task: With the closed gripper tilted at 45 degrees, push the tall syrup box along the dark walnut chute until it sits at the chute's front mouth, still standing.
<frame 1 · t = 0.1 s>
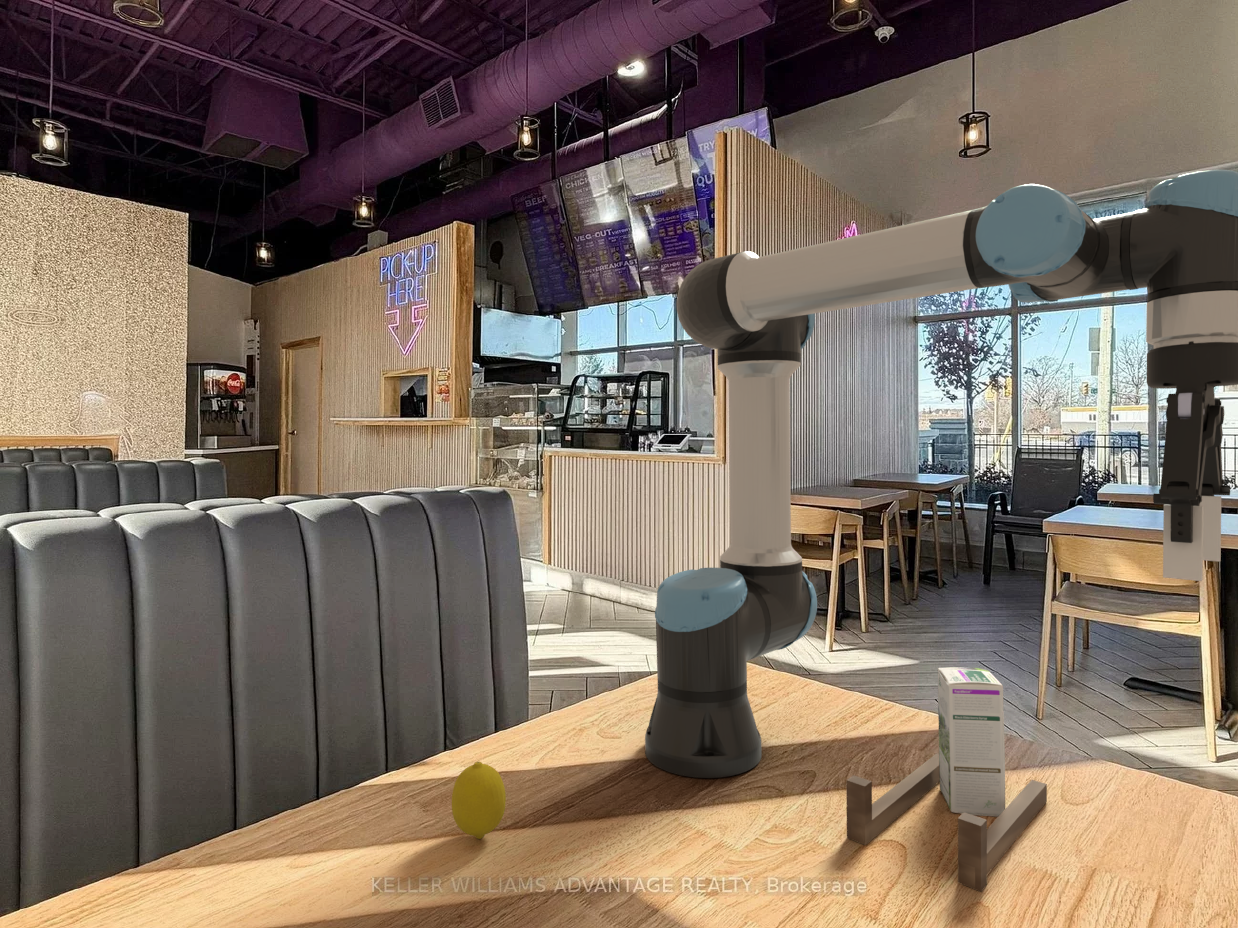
hand: (1193, 569, 69), 28 cm above the table, tool pointing down, fingers open, 13 cm apart
lemon: (479, 839, 76), on the table
walnut chute: (953, 819, 78), on the table
syrup box: (970, 804, 81), on the table
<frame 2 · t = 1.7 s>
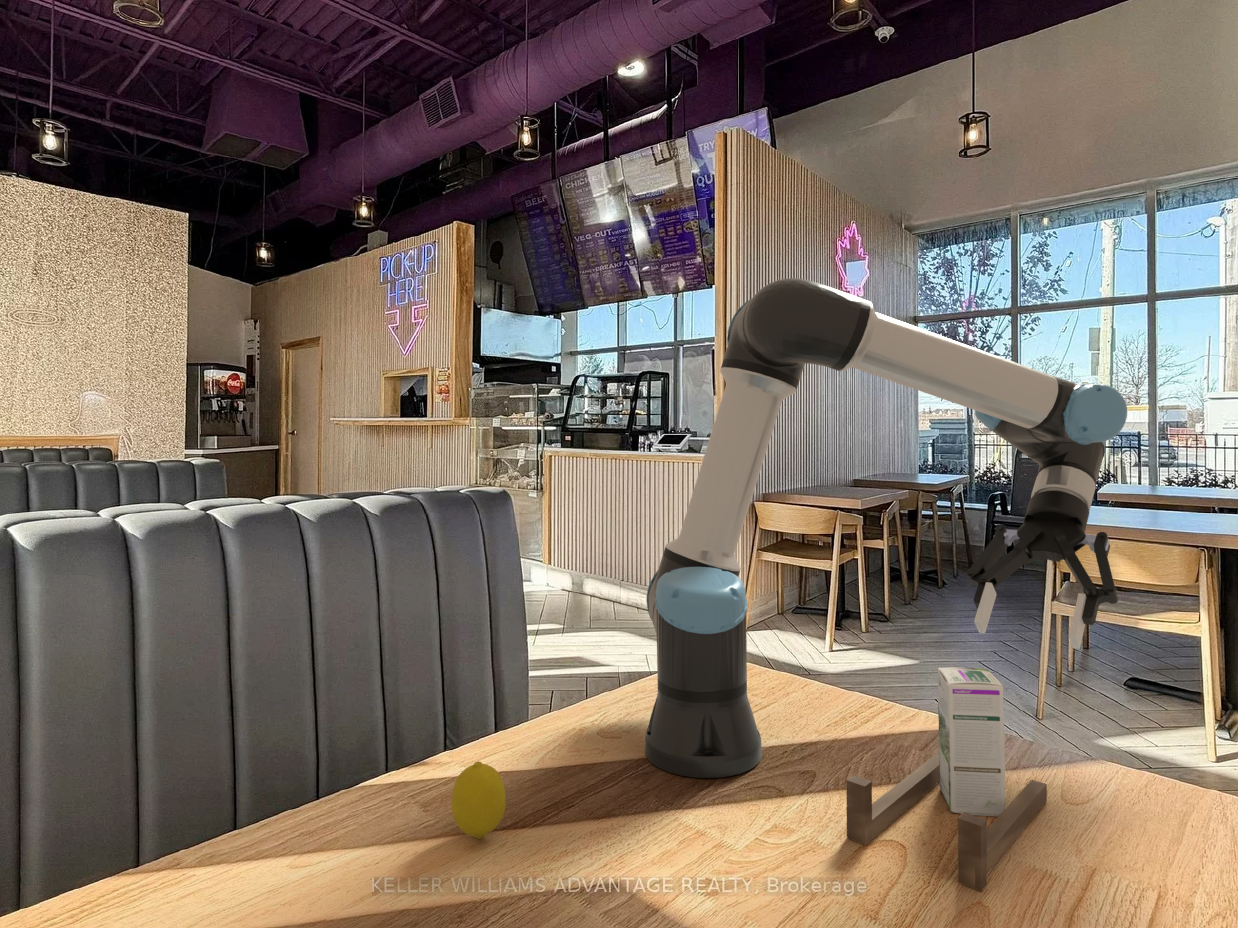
hand: (1024, 634, 94), 15 cm above the table, tool tilted 45°, fingers open, 10 cm apart
nothing on the table moved.
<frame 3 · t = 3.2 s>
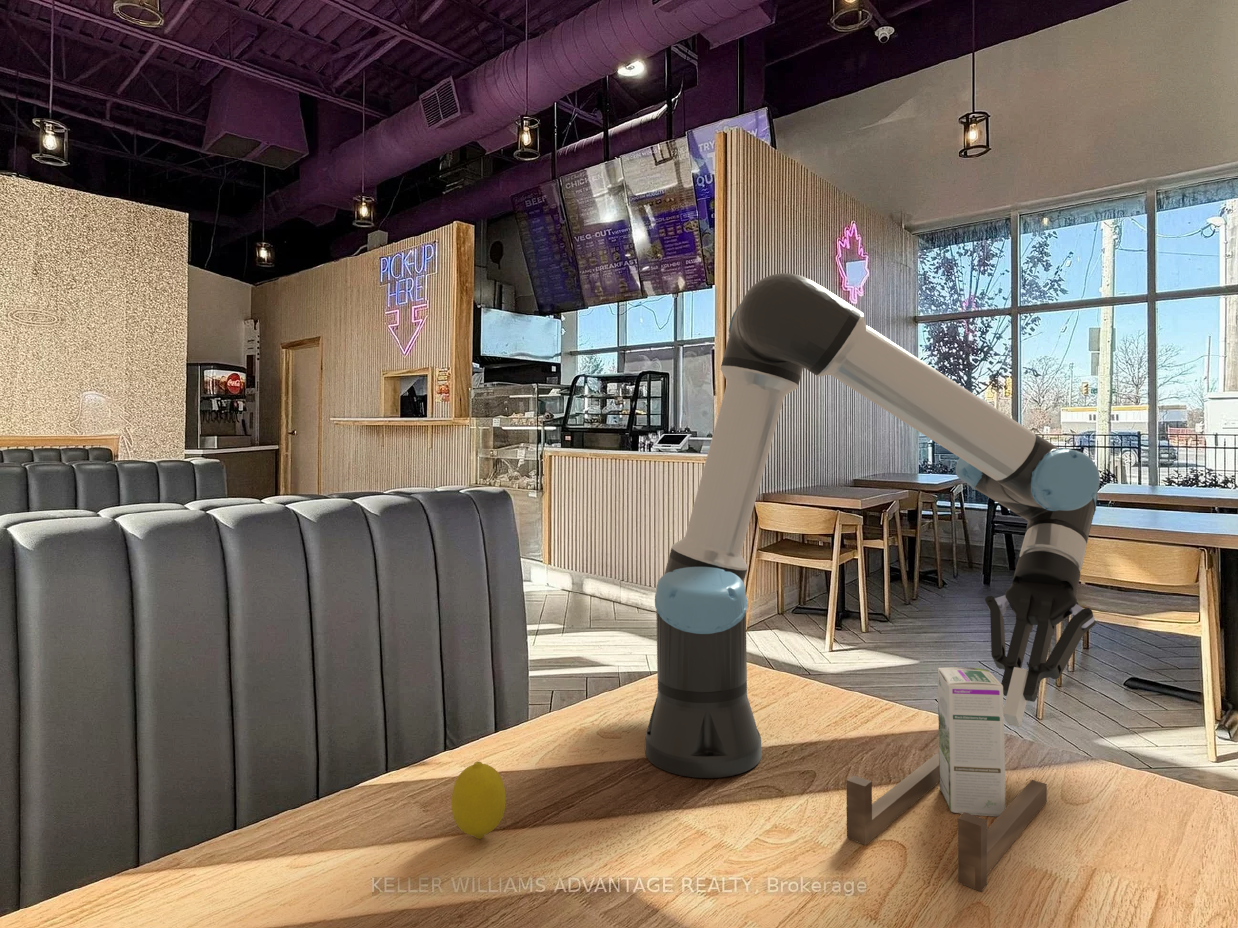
hand: (1011, 720, 89), 6 cm above the table, tool tilted 45°, fingers closed
nothing on the table moved.
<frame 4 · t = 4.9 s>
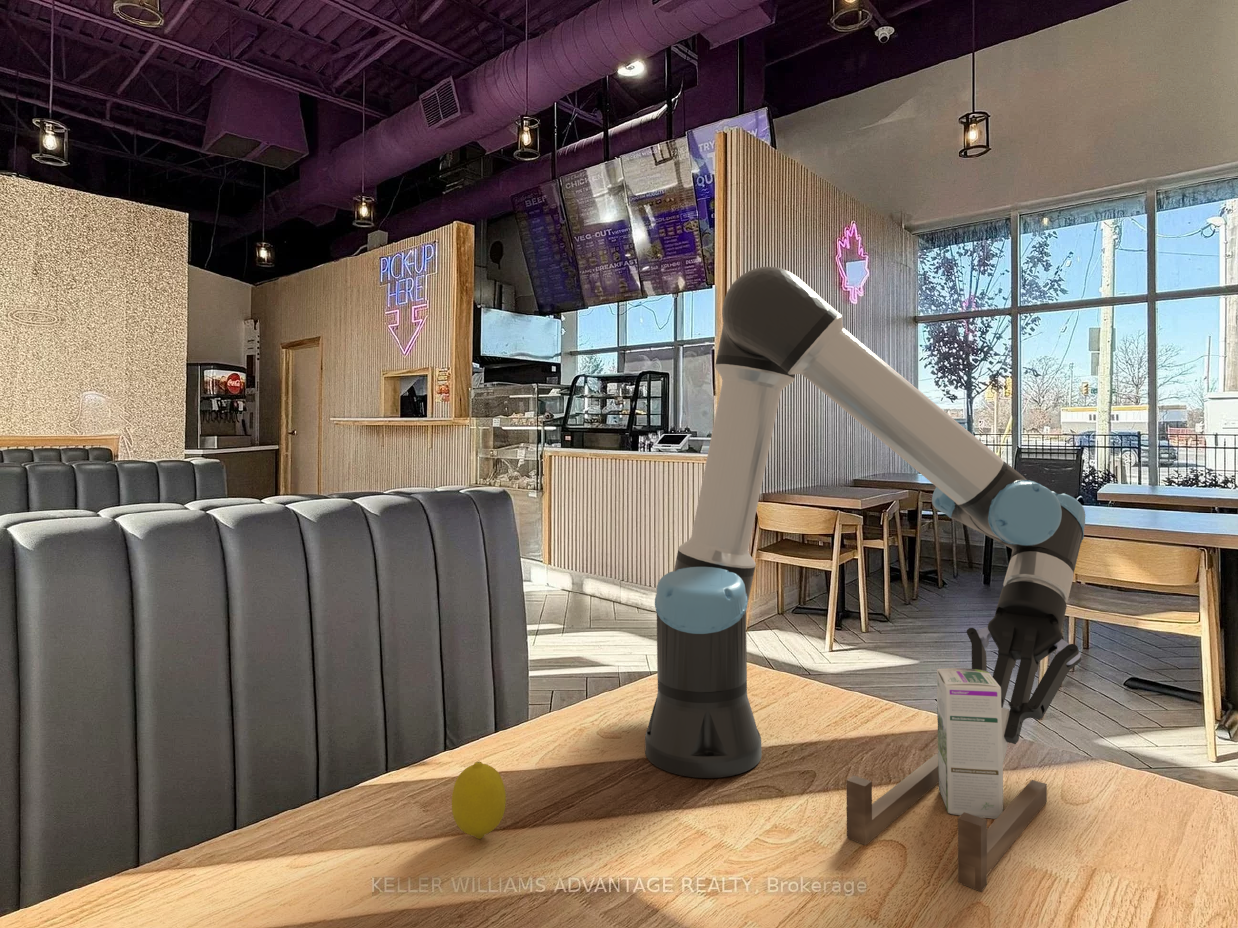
hand: (991, 763, 84), 3 cm above the table, tool tilted 45°, fingers closed
syrup box: (969, 806, 81), on the table, touching gripper
everything else where it was.
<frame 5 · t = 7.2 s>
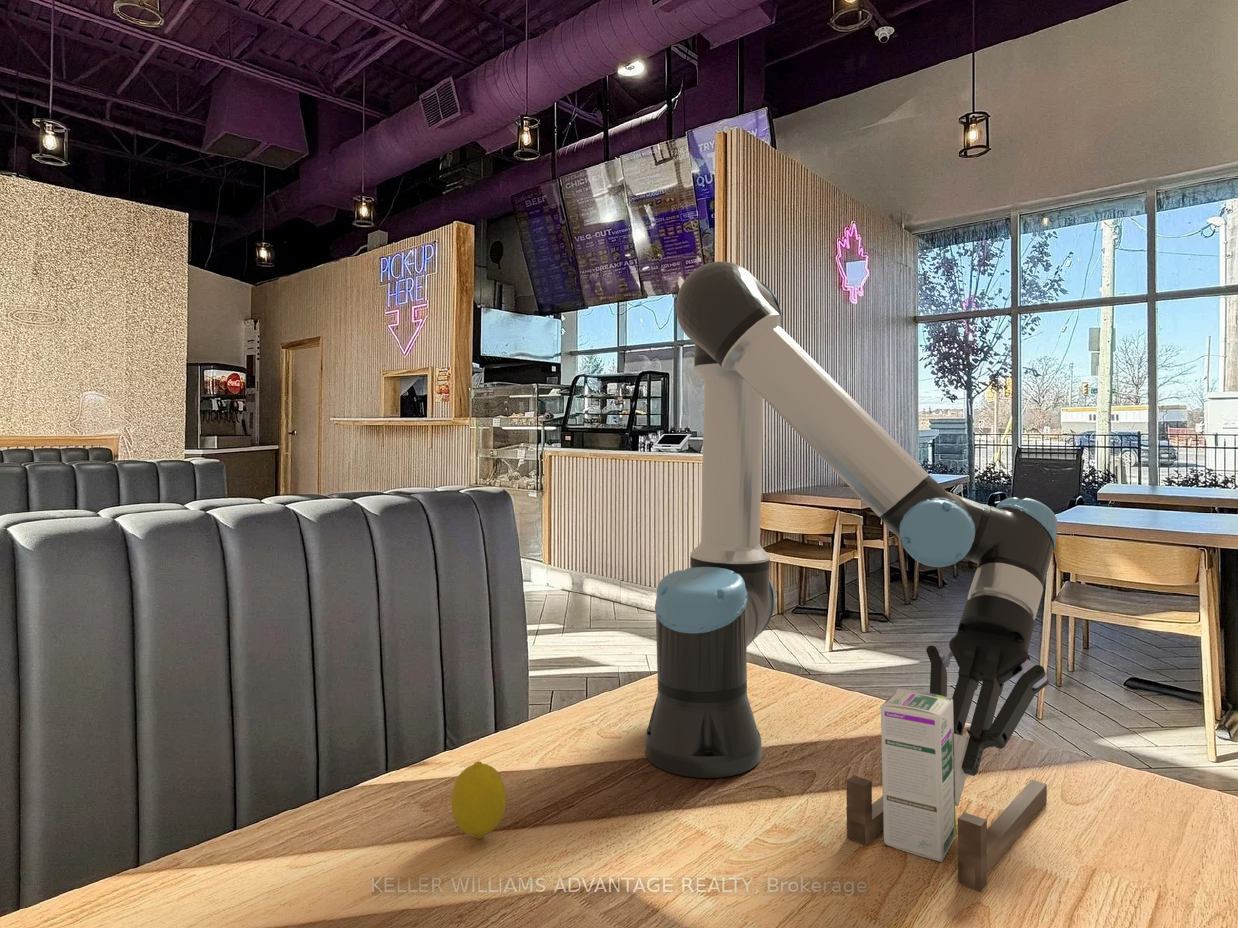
hand: (947, 797, 76), 3 cm above the table, tool tilted 45°, fingers closed
syrup box: (919, 842, 74), on the table, touching gripper
everything else where it was.
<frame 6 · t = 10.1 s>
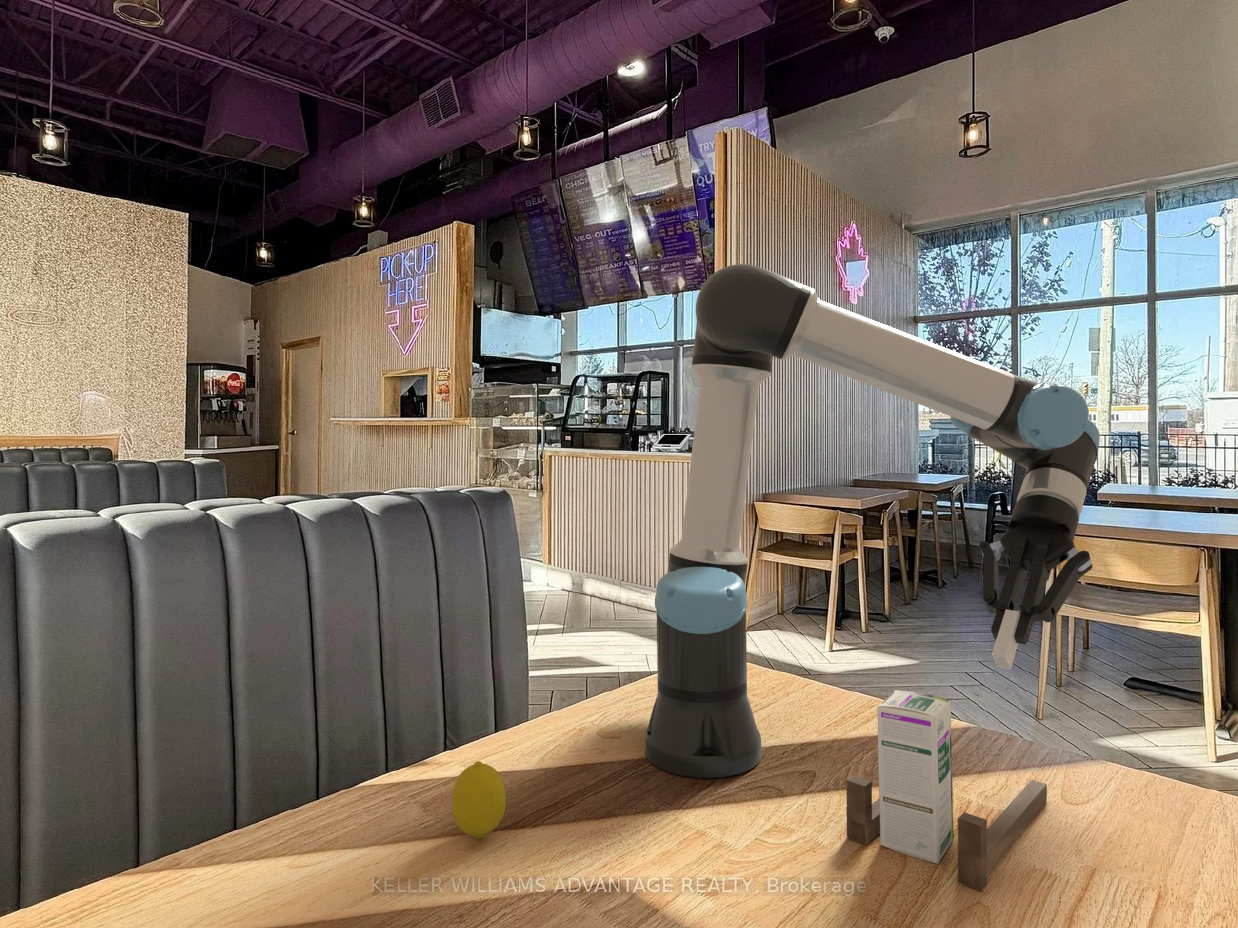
hand: (1001, 662, 85), 14 cm above the table, tool tilted 45°, fingers closed
syrup box: (916, 844, 74), on the table
everything else where it was.
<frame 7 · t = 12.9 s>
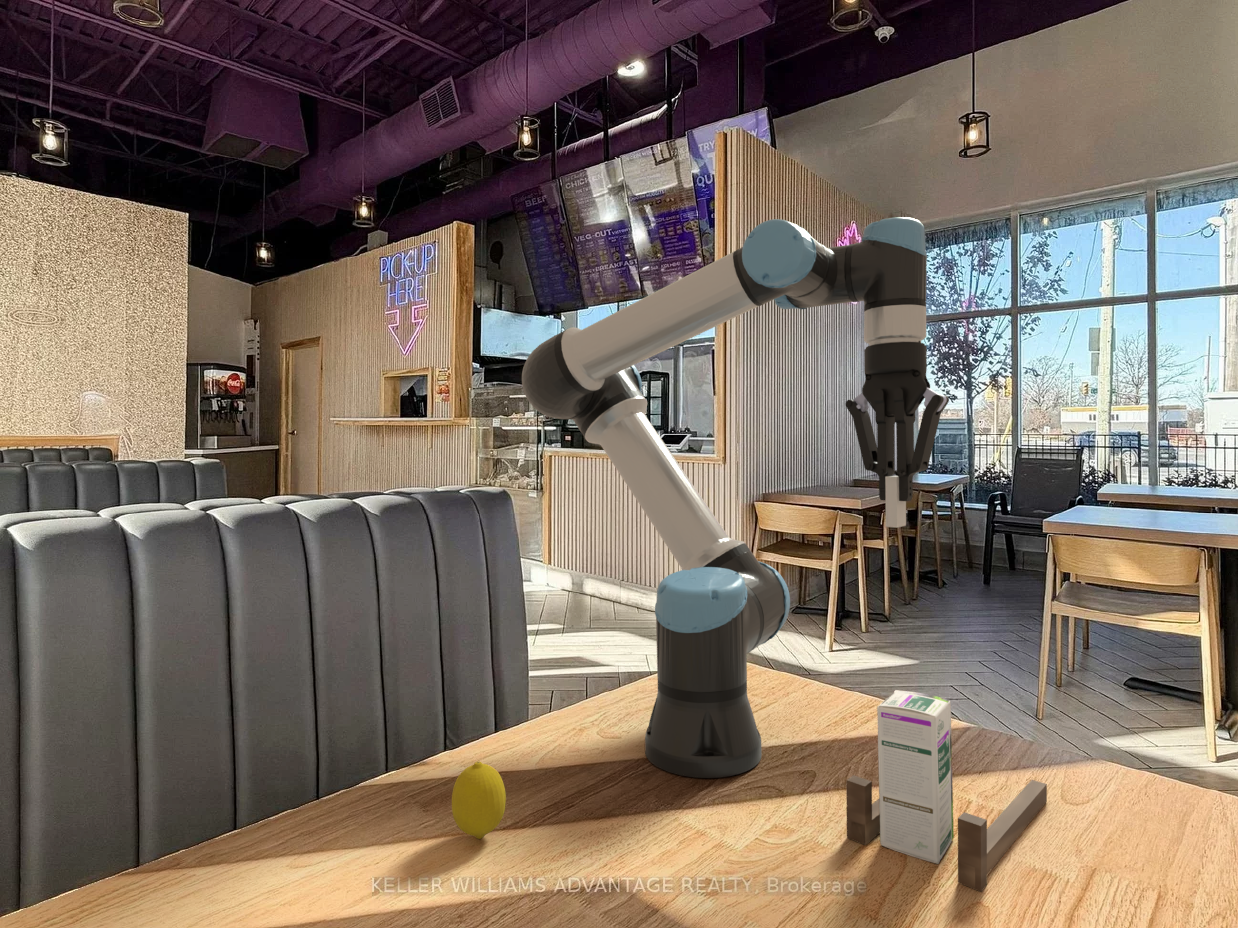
hand: (895, 526, 95), 29 cm above the table, tool pointing down, fingers closed
nothing on the table moved.
at the end: syrup box inside the target area on the walnut chute (1.4 cm from its centre), point 0.0 cm above the walnut chute's base; syrup box tilted 0°; syrup box moved 12.1 cm from its start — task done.
